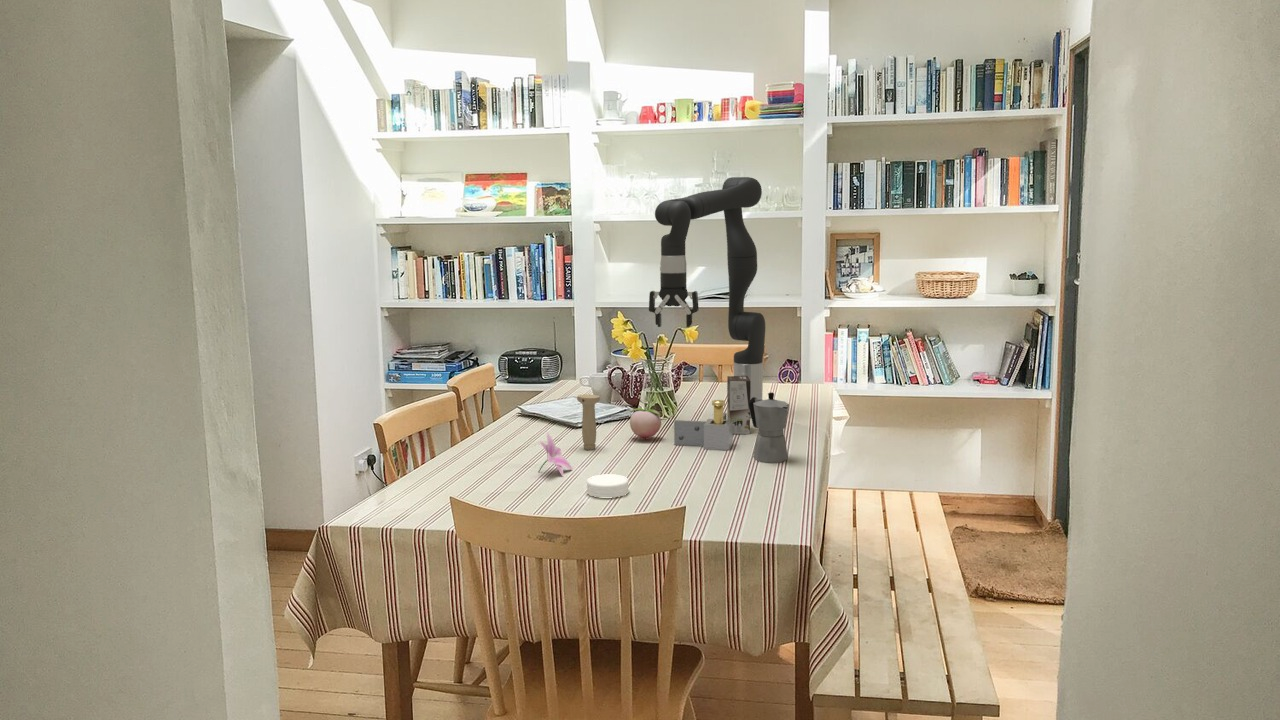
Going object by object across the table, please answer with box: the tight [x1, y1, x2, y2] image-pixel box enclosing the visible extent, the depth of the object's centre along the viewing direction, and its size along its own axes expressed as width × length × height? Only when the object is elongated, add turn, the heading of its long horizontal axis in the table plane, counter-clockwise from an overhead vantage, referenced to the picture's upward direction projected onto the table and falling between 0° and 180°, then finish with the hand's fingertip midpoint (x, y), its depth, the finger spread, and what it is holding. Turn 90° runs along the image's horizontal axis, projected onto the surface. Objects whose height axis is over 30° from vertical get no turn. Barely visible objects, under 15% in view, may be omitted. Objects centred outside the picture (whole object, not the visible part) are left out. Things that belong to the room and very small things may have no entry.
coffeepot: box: [749, 392, 790, 464], centre depth 258 cm, size 15×9×18 cm, turn 34°
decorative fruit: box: [629, 405, 662, 440], centre depth 280 cm, size 9×8×10 cm
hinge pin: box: [711, 399, 726, 424], centre depth 271 cm, size 4×4×13 cm
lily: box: [537, 431, 574, 477], centre depth 247 cm, size 12×12×10 cm
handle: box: [576, 393, 601, 451], centre depth 270 cm, size 5×6×15 cm
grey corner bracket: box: [673, 412, 734, 451], centre depth 277 cm, size 16×16×7 cm
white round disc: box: [586, 473, 630, 497], centre depth 230 cm, size 10×10×4 cm
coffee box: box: [726, 375, 751, 435], centre depth 289 cm, size 9×6×16 cm
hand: (673, 326), depth 282 cm, fingers open, 8 cm apart
